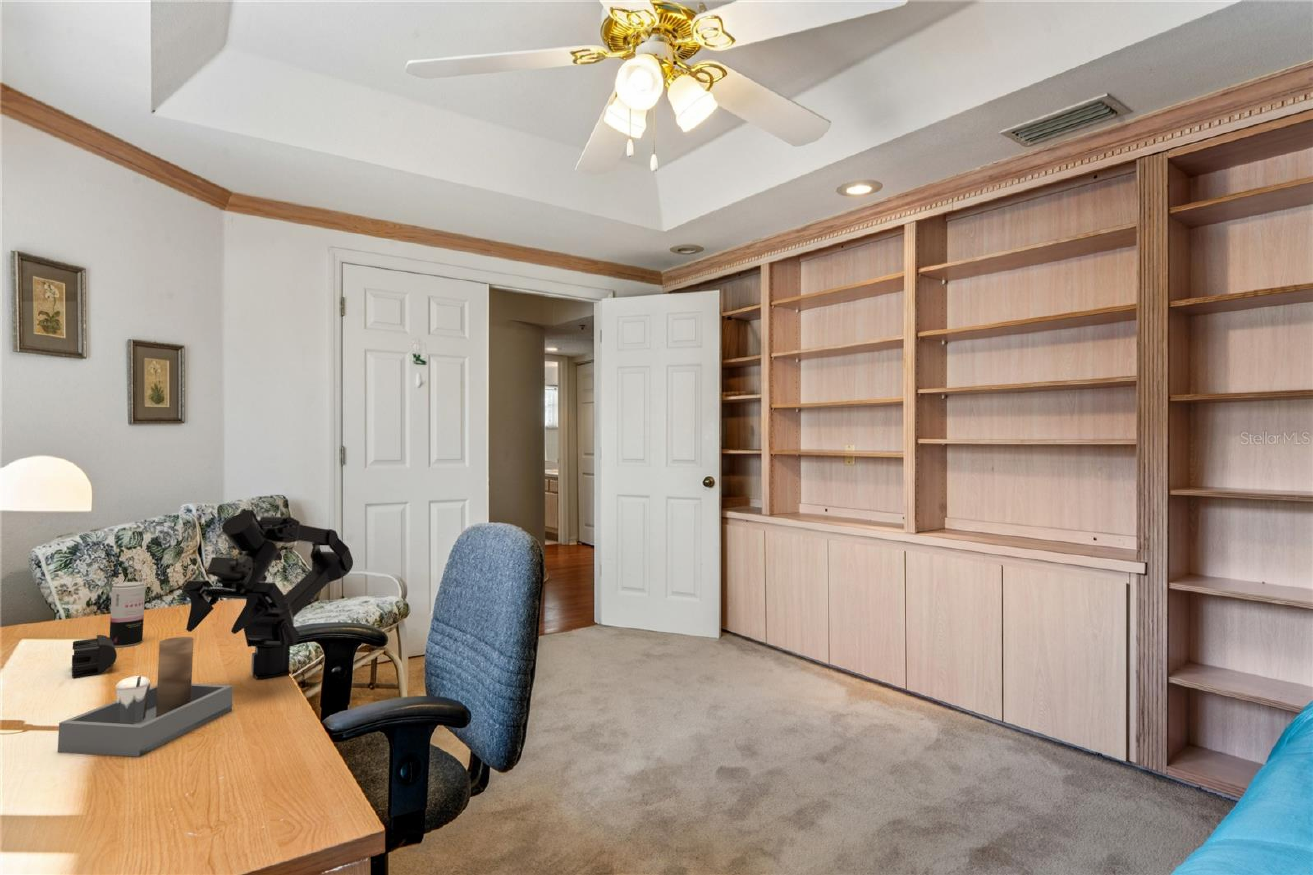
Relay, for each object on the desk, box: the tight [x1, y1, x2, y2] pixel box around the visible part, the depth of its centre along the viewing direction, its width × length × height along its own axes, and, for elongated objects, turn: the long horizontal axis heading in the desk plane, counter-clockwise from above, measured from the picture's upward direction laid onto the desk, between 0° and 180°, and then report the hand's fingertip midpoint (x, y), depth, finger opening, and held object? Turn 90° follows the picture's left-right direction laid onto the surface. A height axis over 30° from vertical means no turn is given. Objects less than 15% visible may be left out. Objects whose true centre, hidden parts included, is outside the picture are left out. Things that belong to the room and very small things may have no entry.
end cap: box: [71, 634, 118, 679], centre depth 146 cm, size 10×7×7 cm
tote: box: [57, 683, 234, 758], centre depth 115 cm, size 20×14×4 cm
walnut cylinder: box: [156, 636, 195, 718], centre depth 120 cm, size 5×5×13 cm
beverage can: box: [108, 581, 146, 648], centre depth 167 cm, size 7×6×15 cm
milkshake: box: [115, 675, 151, 725], centre depth 111 cm, size 4×5×10 cm
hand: (210, 631), depth 128 cm, fingers open, 9 cm apart
